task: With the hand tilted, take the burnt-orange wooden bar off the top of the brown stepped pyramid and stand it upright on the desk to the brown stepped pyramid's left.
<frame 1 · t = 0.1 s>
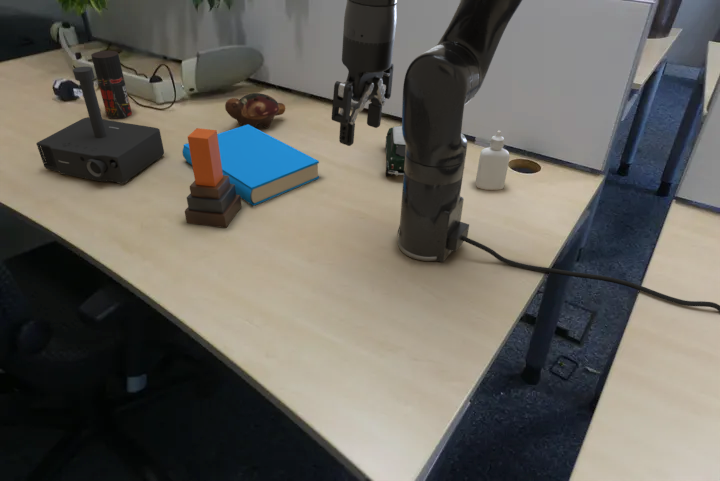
hand: (360, 134, 89), 17 cm above the table, tool pointing down, fingers open, 8 cm apart
brown stepped pyramid: (214, 214, 100), on the table
deodorant: (119, 115, 138), on the table
projector: (105, 165, 115), on the table
bar: (209, 180, 96), point 7 cm above the table, touching brown stepped pyramid
decorative turtle: (257, 125, 134), on the table
eye dropper bottle: (489, 187, 111), on the table
miniature car: (405, 163, 119), on the table
book: (250, 170, 115), on the table
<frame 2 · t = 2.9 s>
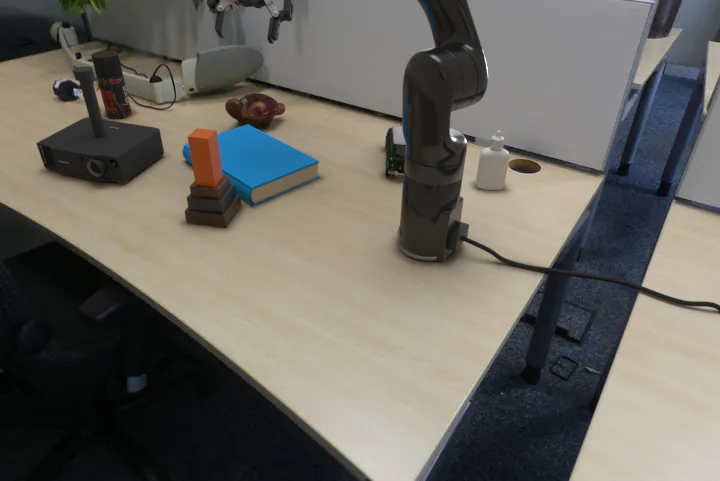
hand: (245, 39, 92), 29 cm above the table, tool tilted 40°, fingers open, 8 cm apart
nothing on the table moved.
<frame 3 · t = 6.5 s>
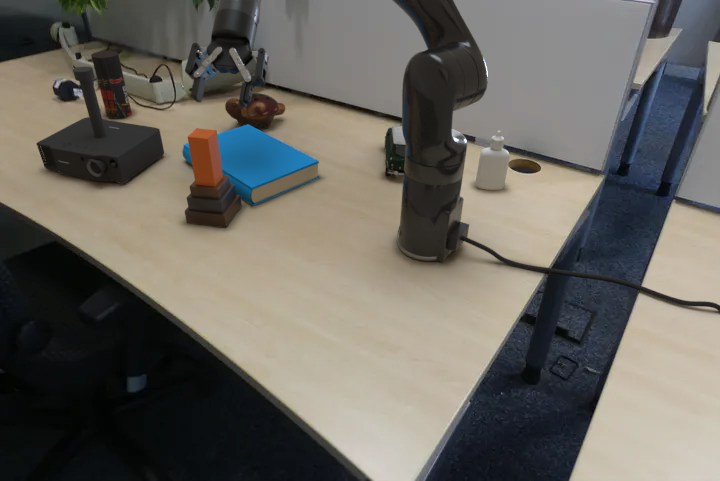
hand: (219, 102, 96), 18 cm above the table, tool tilted 45°, fingers open, 8 cm apart
nothing on the table moved.
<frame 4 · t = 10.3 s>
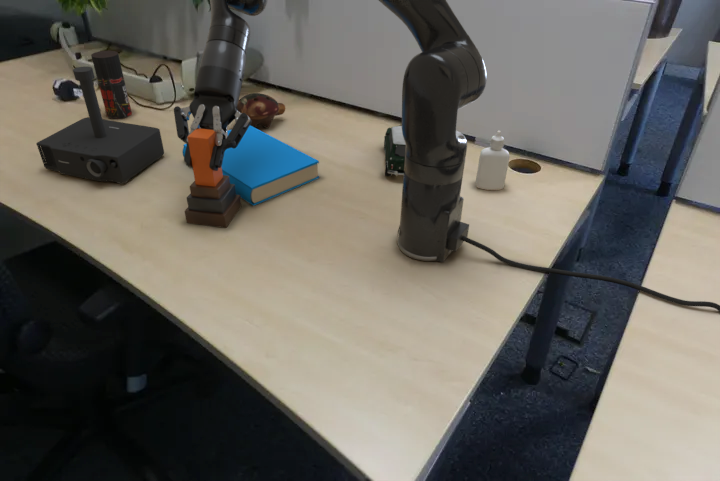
hand: (201, 167, 93), 11 cm above the table, tool tilted 45°, fingers closed on bar, 3 cm apart
bar: (209, 180, 96), point 7 cm above the table, touching gripper, brown stepped pyramid
everything else where it was.
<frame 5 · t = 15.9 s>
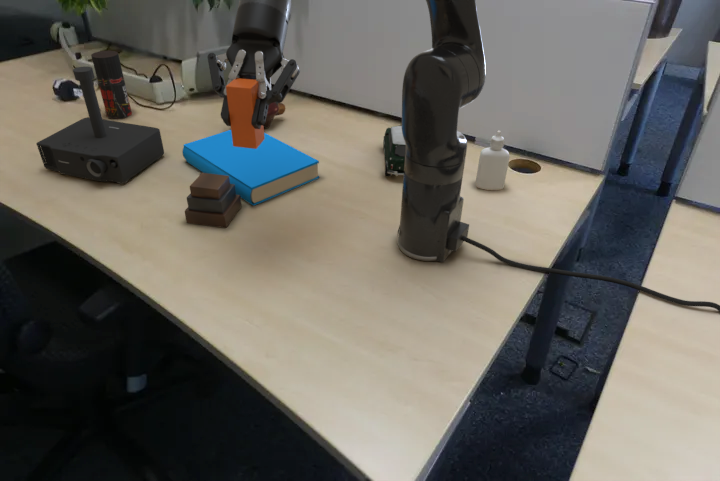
hand: (241, 125, 77), 23 cm above the table, tool tilted 45°, fingers closed on bar, 3 cm apart
bar: (249, 142, 81), point 19 cm above the table, touching gripper
everything else where it was.
when the fingers open (4 cm above the table, at t = 21.4 s): bar stays where it is, on the table.
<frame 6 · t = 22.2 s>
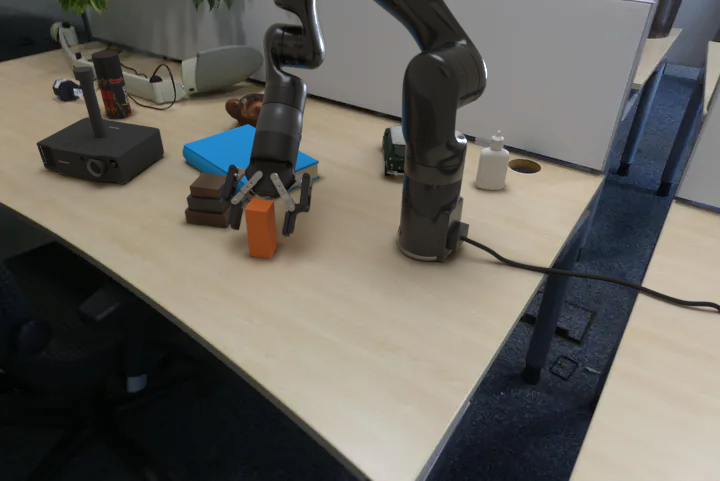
hand: (260, 232, 88), 5 cm above the table, tool tilted 45°, fingers open, 8 cm apart
bar: (263, 250, 91), on the table
everything else where it was.
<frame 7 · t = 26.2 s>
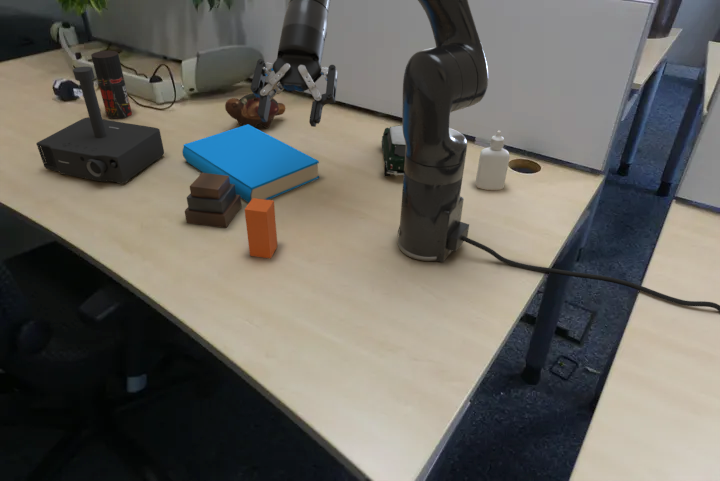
hand: (287, 122, 91), 18 cm above the table, tool tilted 45°, fingers open, 8 cm apart
nothing on the table moved.
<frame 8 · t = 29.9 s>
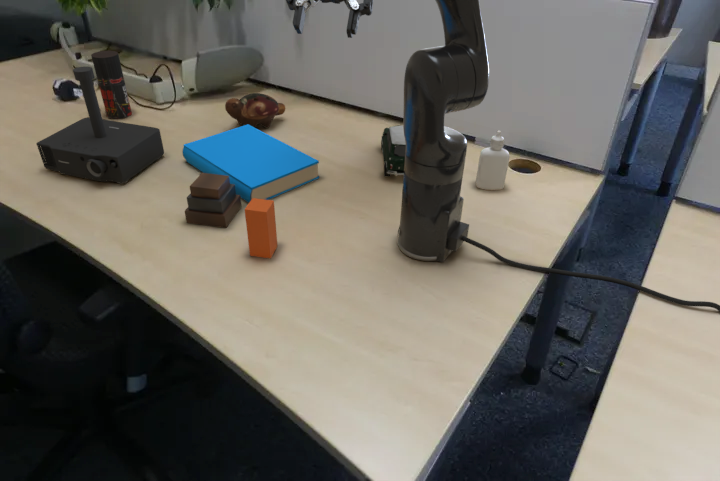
hand: (323, 33, 89), 31 cm above the table, tool tilted 45°, fingers open, 8 cm apart
nothing on the table moved.
at the end: bar inside the target area (0.2 cm from its centre), on the table; bar tilted 0°; the gripper is holding nothing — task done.
